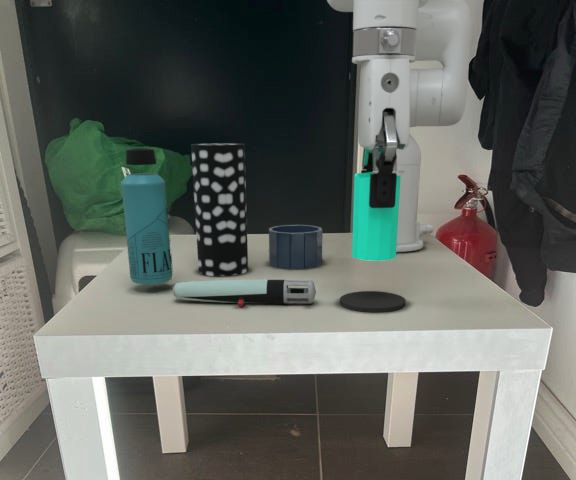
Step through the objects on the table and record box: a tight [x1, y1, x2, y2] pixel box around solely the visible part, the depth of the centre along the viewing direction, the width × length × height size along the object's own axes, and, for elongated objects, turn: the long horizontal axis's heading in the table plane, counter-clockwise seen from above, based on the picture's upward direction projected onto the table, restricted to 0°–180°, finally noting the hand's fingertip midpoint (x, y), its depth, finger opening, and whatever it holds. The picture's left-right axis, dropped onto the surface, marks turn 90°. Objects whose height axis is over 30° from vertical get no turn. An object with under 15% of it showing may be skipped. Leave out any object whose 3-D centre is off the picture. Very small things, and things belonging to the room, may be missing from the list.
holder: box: [268, 224, 323, 270], centre depth 112 cm, size 9×9×6 cm
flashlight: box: [172, 279, 317, 308], centre depth 89 cm, size 3×4×20 cm
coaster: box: [339, 290, 407, 313], centre depth 89 cm, size 9×9×1 cm
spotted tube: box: [190, 142, 249, 277], centre depth 104 cm, size 8×8×20 cm
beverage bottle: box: [120, 147, 174, 285], centre depth 93 cm, size 6×7×20 cm
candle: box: [351, 172, 401, 262], centre depth 84 cm, size 6×6×12 cm
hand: (376, 202), depth 84 cm, fingers closed on candle, 6 cm apart
